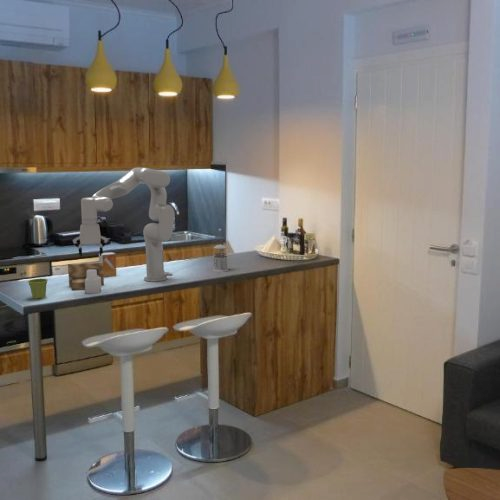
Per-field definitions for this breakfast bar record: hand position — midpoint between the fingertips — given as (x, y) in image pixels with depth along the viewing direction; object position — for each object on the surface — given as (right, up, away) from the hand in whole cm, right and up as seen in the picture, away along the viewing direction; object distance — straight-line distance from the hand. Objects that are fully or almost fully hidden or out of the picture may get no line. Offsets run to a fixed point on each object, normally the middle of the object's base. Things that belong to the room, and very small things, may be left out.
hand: (90, 255), depth 315 cm
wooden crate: (-6, -17, +14) cm, 22 cm away
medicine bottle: (0, -19, +3) cm, 19 cm away
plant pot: (-24, -21, -8) cm, 33 cm away
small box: (-1, -12, +43) cm, 45 cm away
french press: (+63, -9, +56) cm, 85 cm away
